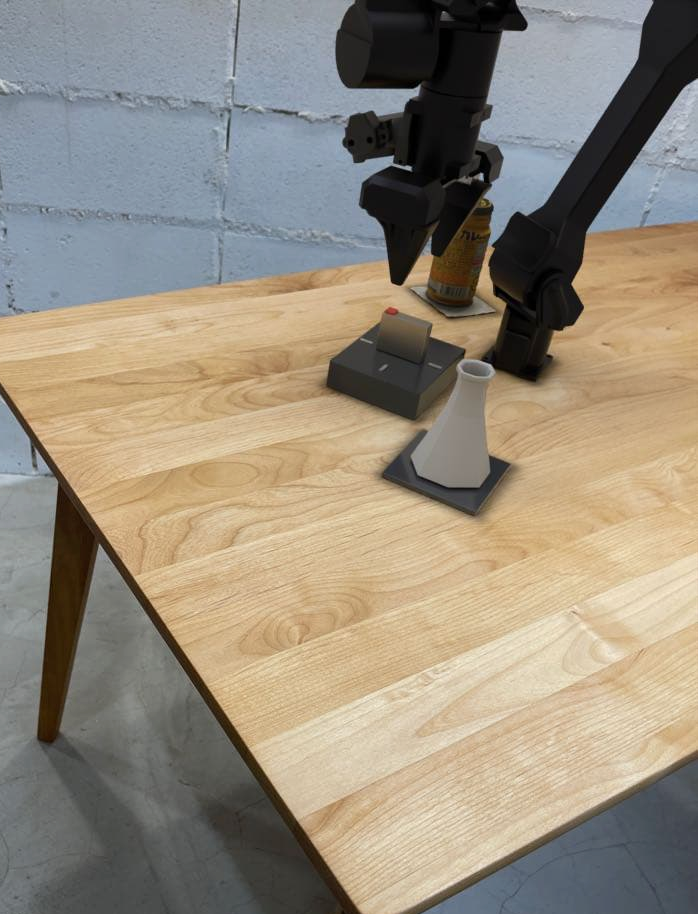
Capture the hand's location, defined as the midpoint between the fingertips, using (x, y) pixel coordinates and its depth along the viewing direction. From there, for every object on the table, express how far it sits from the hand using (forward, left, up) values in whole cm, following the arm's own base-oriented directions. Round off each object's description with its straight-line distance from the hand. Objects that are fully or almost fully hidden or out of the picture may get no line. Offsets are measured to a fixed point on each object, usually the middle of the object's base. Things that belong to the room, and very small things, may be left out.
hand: (417, 269), depth 80 cm
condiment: (-23, -3, -12) cm, 26 cm away
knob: (0, 0, -9) cm, 9 cm away
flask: (+12, +11, -12) cm, 20 cm away
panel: (0, 0, -12) cm, 12 cm away
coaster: (+12, +11, -12) cm, 20 cm away
